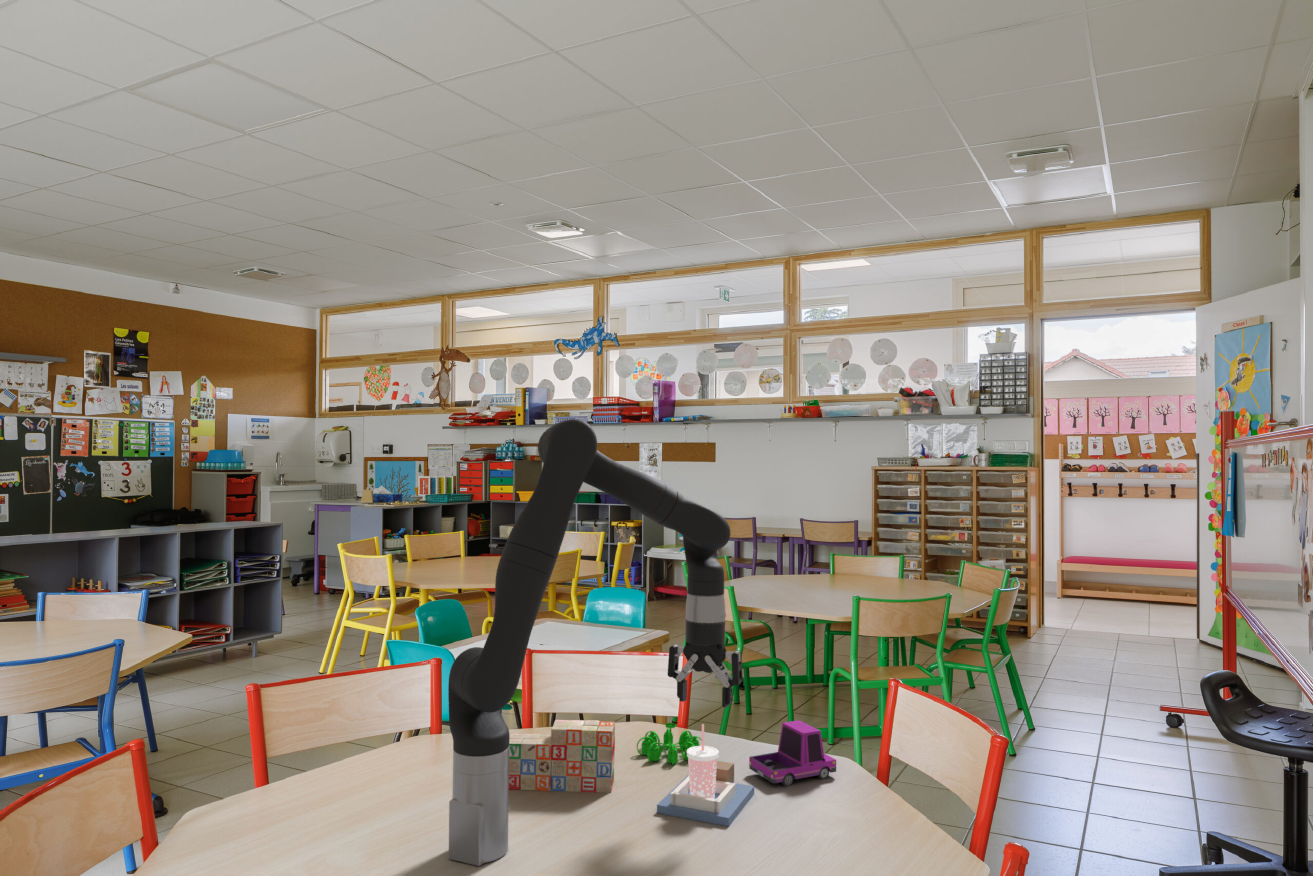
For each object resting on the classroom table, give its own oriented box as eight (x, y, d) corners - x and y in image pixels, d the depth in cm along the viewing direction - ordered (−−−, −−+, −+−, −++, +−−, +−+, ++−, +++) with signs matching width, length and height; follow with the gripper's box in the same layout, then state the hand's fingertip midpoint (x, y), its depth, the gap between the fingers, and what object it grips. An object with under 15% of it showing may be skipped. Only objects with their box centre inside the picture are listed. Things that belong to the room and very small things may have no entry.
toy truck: (838, 779, 173) (839, 730, 173) (775, 792, 166) (775, 741, 166) (807, 762, 182) (808, 716, 183) (746, 773, 176) (747, 725, 176)
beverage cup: (705, 808, 154) (706, 731, 154) (679, 799, 158) (680, 724, 158) (725, 798, 158) (725, 724, 159) (699, 790, 162) (700, 717, 163)
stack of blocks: (504, 790, 166) (505, 727, 166) (511, 778, 172) (511, 718, 172) (611, 793, 165) (612, 730, 165) (614, 781, 171) (615, 720, 171)
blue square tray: (728, 826, 150) (729, 795, 150) (656, 813, 155) (657, 783, 155) (754, 794, 164) (754, 765, 165) (687, 782, 170) (687, 755, 170)
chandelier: (622, 756, 185) (623, 725, 186) (666, 740, 197) (666, 710, 197) (674, 773, 176) (675, 740, 176) (717, 755, 187) (717, 723, 187)
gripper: (663, 617, 158) (662, 704, 158) (735, 624, 153) (734, 714, 152) (677, 611, 165) (676, 694, 165) (747, 617, 160) (746, 703, 159)
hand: (704, 703), depth 158 cm, fingers open, 8 cm apart
